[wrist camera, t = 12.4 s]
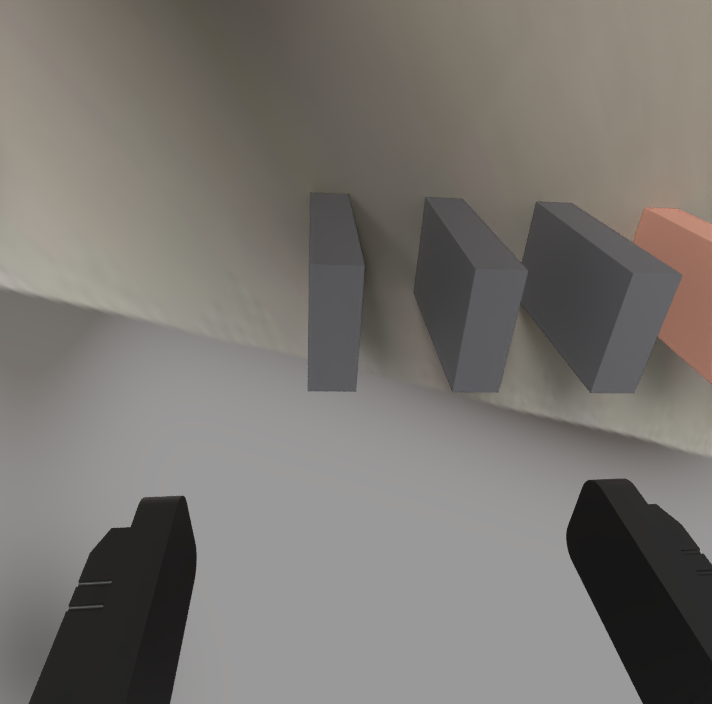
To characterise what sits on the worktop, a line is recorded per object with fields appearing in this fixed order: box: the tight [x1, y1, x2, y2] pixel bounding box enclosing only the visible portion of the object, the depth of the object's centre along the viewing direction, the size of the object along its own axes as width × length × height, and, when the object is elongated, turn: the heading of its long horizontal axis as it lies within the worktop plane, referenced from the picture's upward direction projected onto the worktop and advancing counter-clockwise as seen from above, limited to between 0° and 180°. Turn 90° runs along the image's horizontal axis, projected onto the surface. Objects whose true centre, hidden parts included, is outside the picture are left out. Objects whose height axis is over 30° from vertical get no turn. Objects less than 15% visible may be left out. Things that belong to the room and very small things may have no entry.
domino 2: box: [414, 197, 528, 392], centre depth 22 cm, size 2×5×9 cm, turn 177°
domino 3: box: [520, 202, 683, 393], centre depth 23 cm, size 2×5×9 cm, turn 177°
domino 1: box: [308, 193, 365, 391], centre depth 22 cm, size 2×5×9 cm, turn 177°
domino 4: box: [633, 208, 712, 384], centre depth 23 cm, size 2×5×9 cm, turn 177°
